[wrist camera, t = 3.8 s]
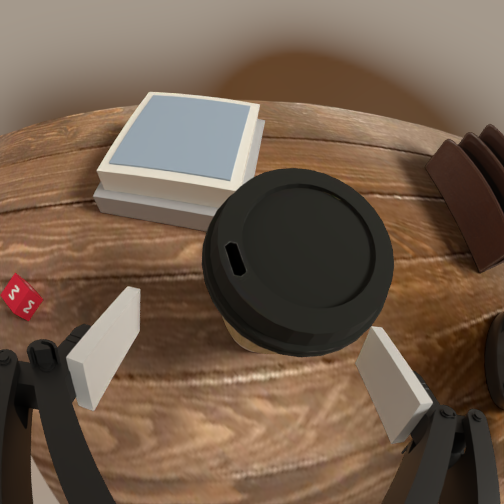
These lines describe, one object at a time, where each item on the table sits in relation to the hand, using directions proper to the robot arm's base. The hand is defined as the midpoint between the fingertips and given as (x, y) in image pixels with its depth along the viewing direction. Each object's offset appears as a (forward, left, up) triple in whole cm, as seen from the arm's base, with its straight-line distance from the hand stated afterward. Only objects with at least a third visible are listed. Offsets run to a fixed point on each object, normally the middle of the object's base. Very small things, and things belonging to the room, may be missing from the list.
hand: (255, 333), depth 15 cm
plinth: (+10, -19, -10) cm, 24 cm away
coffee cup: (-1, -3, -10) cm, 11 cm away
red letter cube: (+23, +1, -11) cm, 25 cm away
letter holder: (-34, -24, -11) cm, 43 cm away
